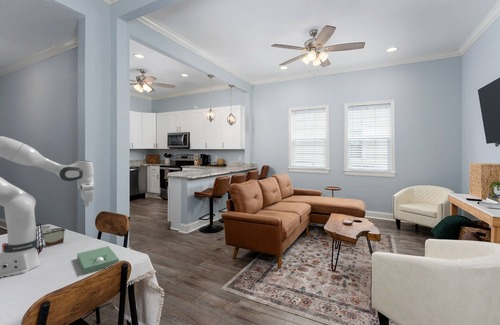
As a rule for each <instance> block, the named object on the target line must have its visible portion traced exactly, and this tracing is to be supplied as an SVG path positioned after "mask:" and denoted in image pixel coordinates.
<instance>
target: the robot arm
mask: <svg viewBox="0 0 500 325" xmlns="http://www.w3.org/2000/svg"><path fill="white" fill-rule="evenodd" d="M0 158H3V159H5V160H7V161H9V162H10V161H11V162H13V163H15V164H19V165H24V166H31V167H38V168H40V169H42V170H45V171H48V172H51V173H52V174H54V175H55V176H56V177H57V178H58V179H60V180H61V181H64V182H68V183H69V182H73V181H77V189H79V191H80V198H81V199H82V200H83V204H84V205H83V206H84V207H85V208H88V207H90V205H89V203H90V202H93V199H94V198H93V197H94V189H95V179H94V175H95V169H94V164H93V162H92V161H89V160H84V159H83V160H81V159H80V160H77V161H75V162H74V163H71V164H61V163H58V162H56V161H53V160H50V159H49V158H46V157H45V156H43V155H42V154H41V153H40V152H39V151H38V150H36V149H35V148H34V147H32V146H30V145H29V144H26V143H24V142H22V141H19V140H17V139H14V138H10V137H7V136H2V135H0ZM36 205H37V199H36V198H35V197H34V196H33V195H32V194H30V193H28V192H26V191H25V190H23V189H21V188H19V187H17V186H16V185H14V184H12V183H10V182H8V181H7V180H6V179H4V178H3V177H1V176H0V206H1V207H4V219H5V223H6V228H7V229H6V230H7V242H4V243H2V244H1V249H2V252H1V253H0V277H1V278H4V277H3V276H6V277H11V275H12V276H17V275H21V274H25V273H27V272H29V271H30V270H32V269H35V268H36V267H39V266H40V265H41V264H42V261H41V259H40V257H39V251H38V248H39V242H38V241H39V240H37V238H36V227H37V224H36V215H35V209H36Z"/></svg>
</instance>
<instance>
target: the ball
mask: <svg viewBox="0 0 500 325" xmlns="http://www.w3.org/2000/svg"><path fill="white" fill-rule="evenodd" d="M101 261H104V258H102V257H99V258H97V259H96V262H101Z"/></svg>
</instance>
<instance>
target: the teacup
mask: <svg viewBox="0 0 500 325" xmlns="http://www.w3.org/2000/svg"><path fill="white" fill-rule="evenodd" d="M40 226H41V229H42V234H43V232H44V231H46V230H49V229H52V227H51V225H40ZM42 238H43V239H42V240H44V236H42Z"/></svg>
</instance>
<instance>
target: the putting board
mask: <svg viewBox="0 0 500 325" xmlns="http://www.w3.org/2000/svg"><path fill="white" fill-rule="evenodd" d="M76 256H77V261H78V263H79V265H80V267H81V270H82V272H83V274H84V275H87V274H89V273H93V272H97V271H102V270H104V269H107V268H106V267H108V266H110V265H112V264H114V263H116V262H118V261H119V262H120V259H119V257H118V256H117V255H116V254H115V252H114V251H113V250H112V249H111V247H110V246H105V247H99V248H96V249H90V250H87V251H81V252H79V253H77V255H76ZM99 257H102V258H104V261H101V262H96V259H97V258H99ZM108 268H109V267H108Z"/></svg>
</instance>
